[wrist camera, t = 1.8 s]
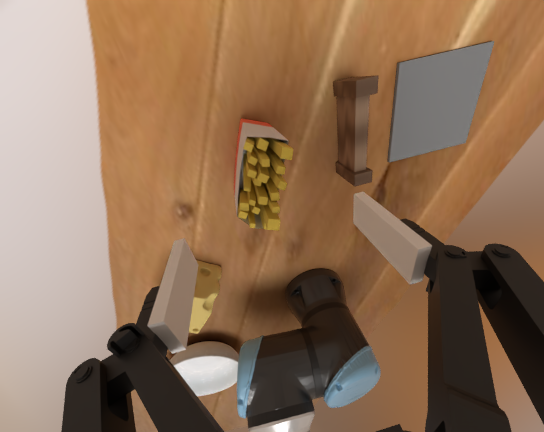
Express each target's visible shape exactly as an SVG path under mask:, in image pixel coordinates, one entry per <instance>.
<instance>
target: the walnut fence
mask: <svg viewBox="0 0 544 432" xmlns="http://www.w3.org/2000/svg"><path fill="white" fill-rule="evenodd" d="M333 86H334V96H337V123H338V162H336V172H337V173H338V174H339V175H341V176H342V177H343V178H344V179H346V180H347V181H348V182H349V183H351V184H352V185H353V186H358V185H362V184H366V183H370V182H372V170H371V169H369V168H367V167H366V161H367V140H368V118H369V97H370V95H372V94H376V93H377V91H378V76H365V77H351V78H347V79H342V80H338V81H334V82H333Z"/></svg>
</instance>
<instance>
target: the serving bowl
mask: <svg viewBox="0 0 544 432" xmlns="http://www.w3.org/2000/svg"><path fill="white" fill-rule="evenodd" d="M238 359H239V355H238V353H237V352H236V351H235V350H234V349H233V348H232V347H231V346H229V345H227V344H224V343H221V342H215V341H205V342H199V343H195V344H192V345H189V346H187V348H186V350H183V351H180V352H177V353H176V354H175V355H174V356H173V357H172V358H171V359H170V362H171V363H172V364H173V366H174V367H175V368H176V370H177V371H178V372H179V373H180V375H181V376H182V377H183V379H184V380H185V381H186V383H187V384H188V385H189V386H190V388H191V389H192V390H193V392H194V393H195V394H196V396H203V395H209V394H213V393H216V392H219V391H222V390H224V389H226V388H228V387H230V386H232V385H233V384H235V383H236V382H237V371H238Z"/></svg>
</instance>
